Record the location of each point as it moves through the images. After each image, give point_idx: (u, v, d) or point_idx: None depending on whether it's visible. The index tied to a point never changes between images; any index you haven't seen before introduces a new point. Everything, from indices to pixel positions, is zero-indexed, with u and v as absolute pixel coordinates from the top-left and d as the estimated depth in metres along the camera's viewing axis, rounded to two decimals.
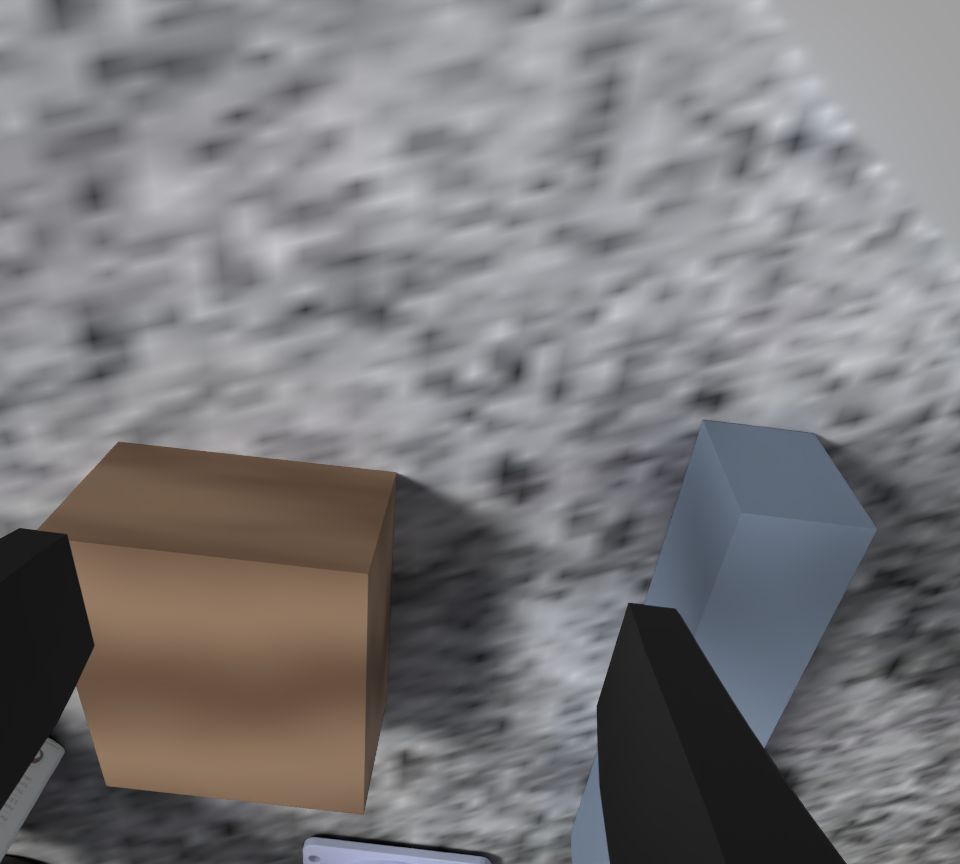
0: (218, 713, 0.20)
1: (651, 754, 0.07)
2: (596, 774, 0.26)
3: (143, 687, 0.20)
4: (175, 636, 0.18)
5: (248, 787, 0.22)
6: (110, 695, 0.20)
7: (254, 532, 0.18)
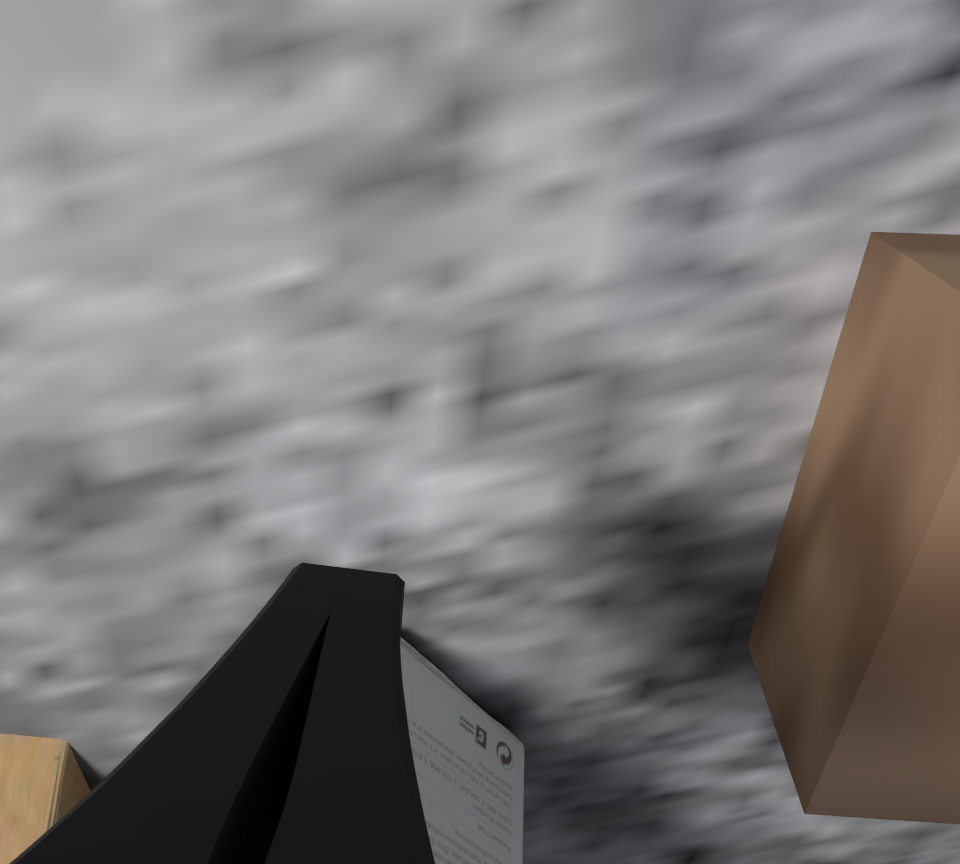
0: None
1: None
2: None
3: None
4: None
5: None
6: (931, 657, 0.11)
7: None
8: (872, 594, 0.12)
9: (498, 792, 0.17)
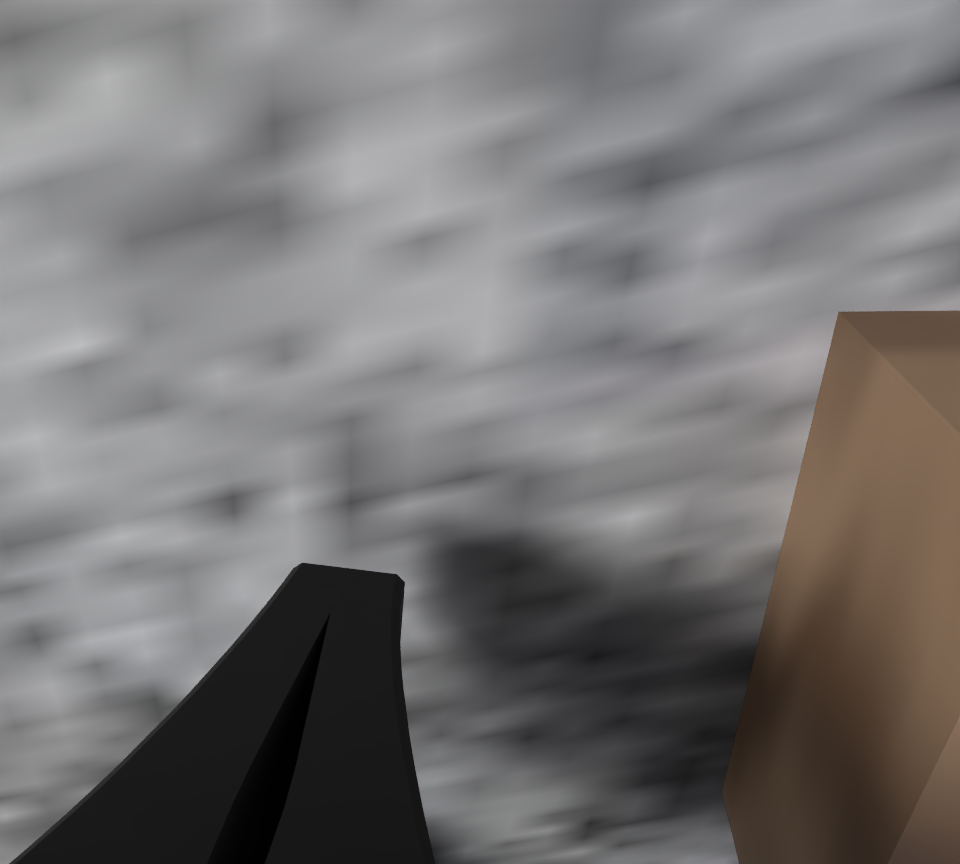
0: None
1: None
2: None
3: None
4: None
5: None
6: None
7: None
8: (858, 826, 0.08)
9: None
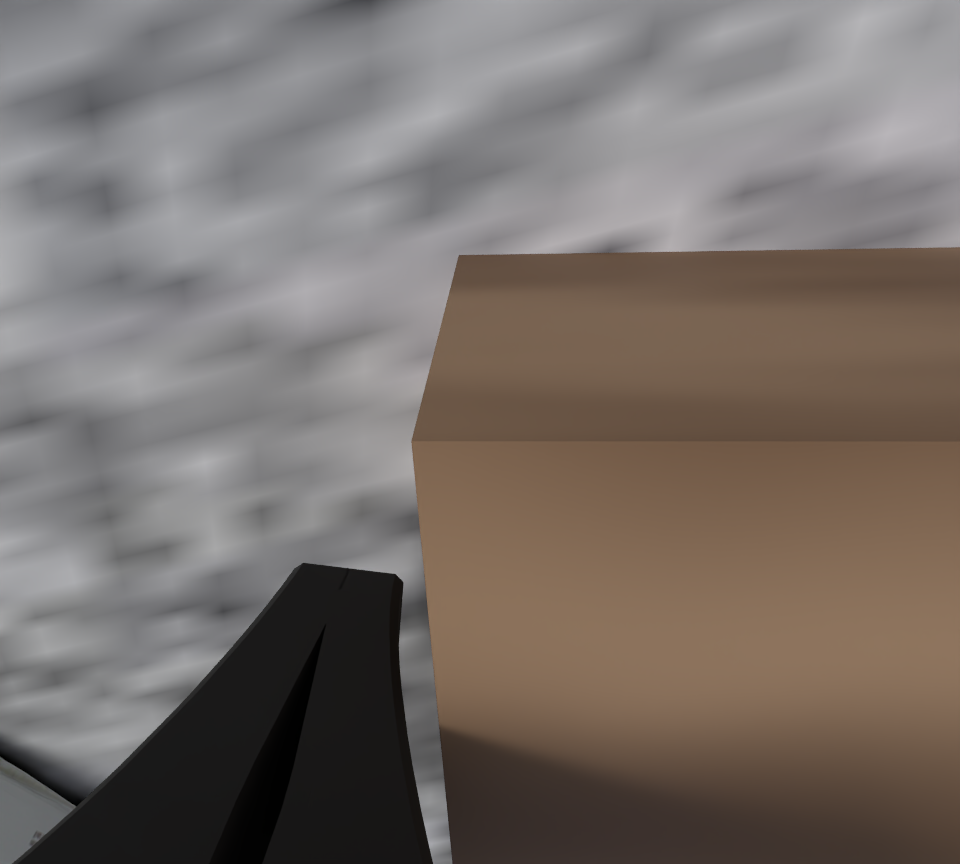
0: None
1: None
2: None
3: (629, 848, 0.08)
4: (780, 717, 0.06)
5: None
6: None
7: None
8: None
9: None
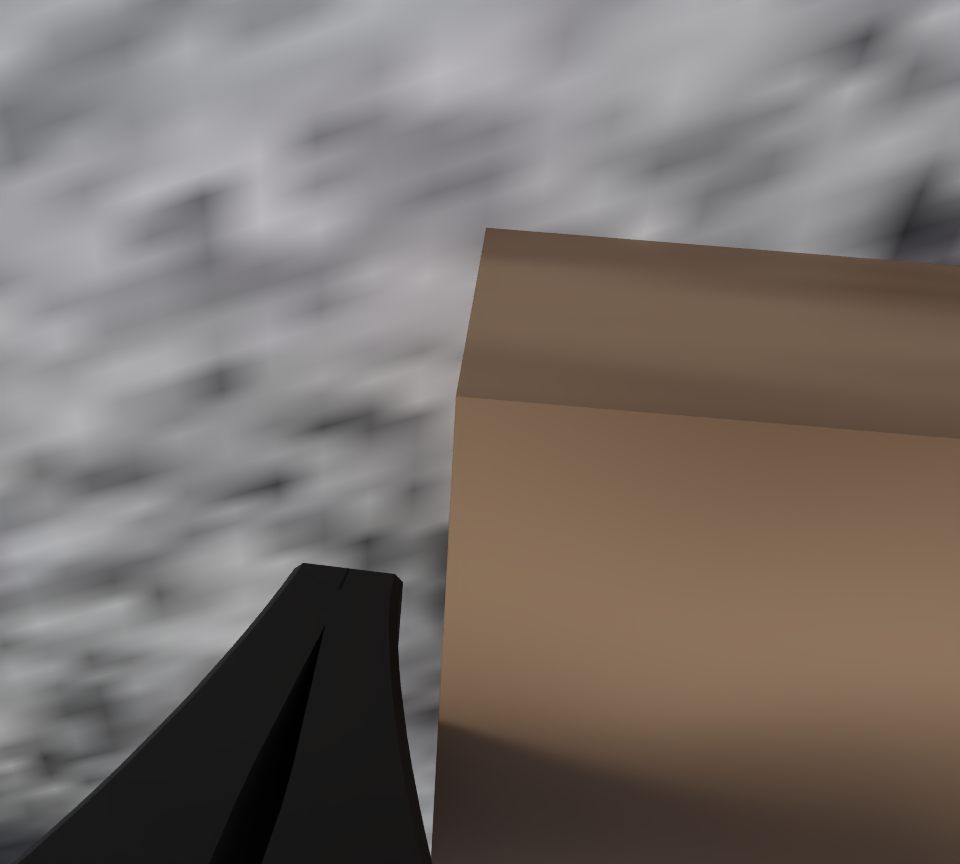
0: None
1: None
2: None
3: (613, 833, 0.08)
4: (782, 709, 0.06)
5: None
6: (512, 849, 0.08)
7: None
8: None
9: None
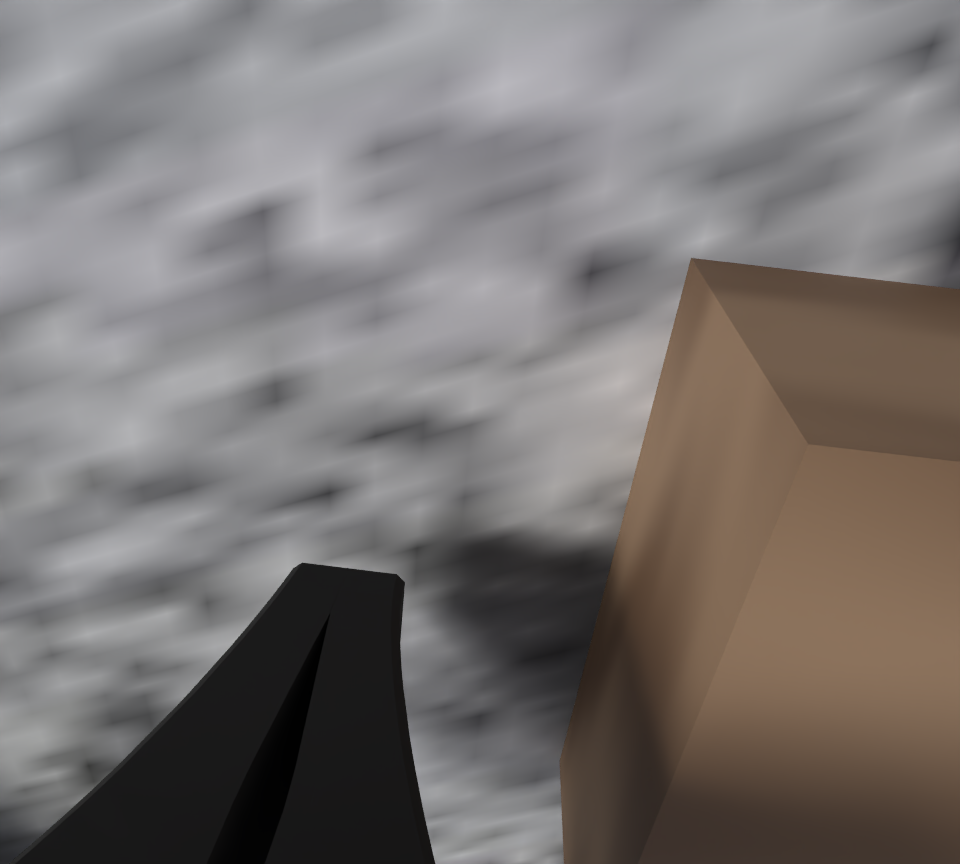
0: None
1: None
2: None
3: (823, 860, 0.08)
4: None
5: None
6: None
7: None
8: (644, 777, 0.08)
9: None
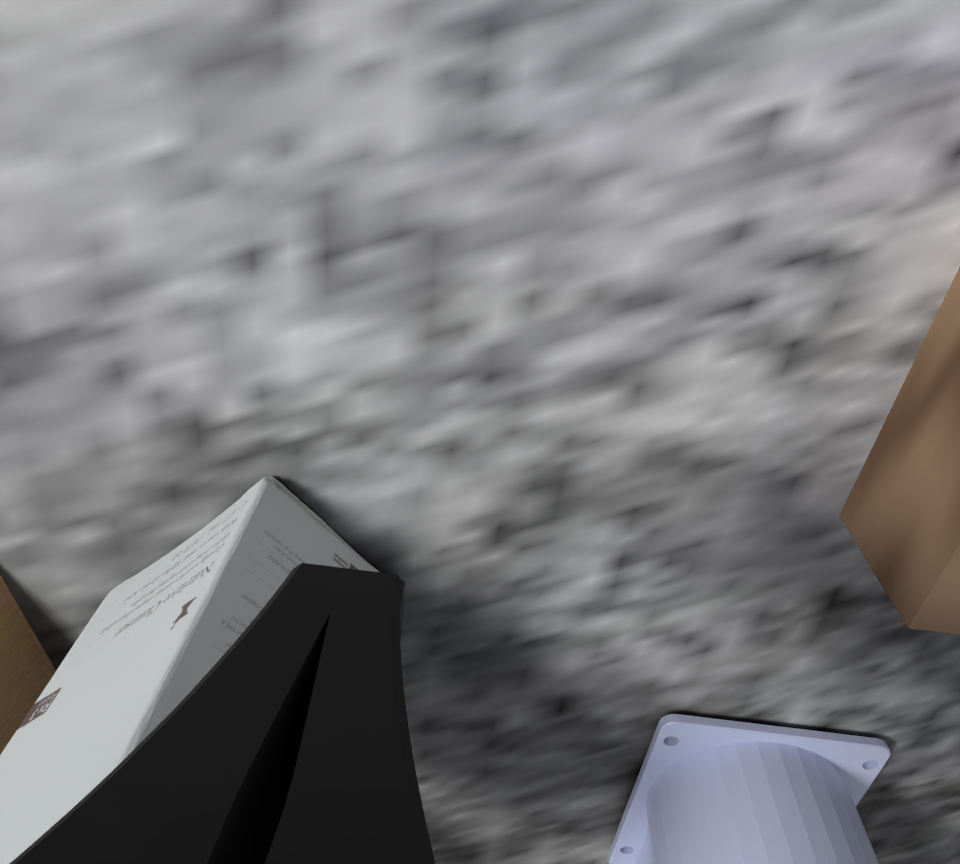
0: None
1: None
2: None
3: None
4: None
5: None
6: None
7: None
8: None
9: None
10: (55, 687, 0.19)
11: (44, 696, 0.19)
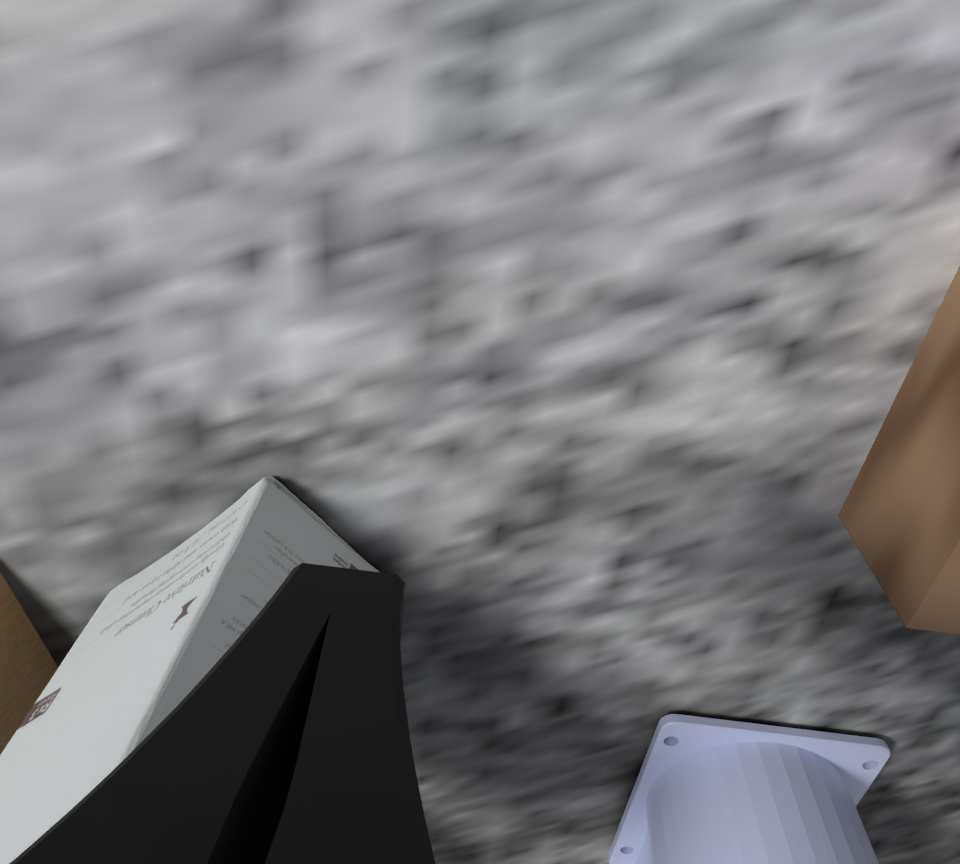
0: None
1: None
2: None
3: None
4: None
5: None
6: None
7: None
8: None
9: None
10: (55, 687, 0.19)
11: (44, 696, 0.19)
